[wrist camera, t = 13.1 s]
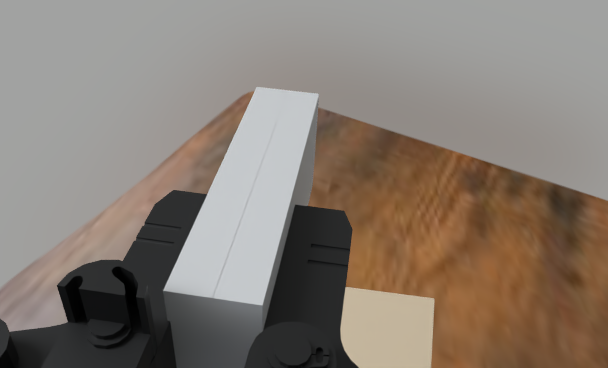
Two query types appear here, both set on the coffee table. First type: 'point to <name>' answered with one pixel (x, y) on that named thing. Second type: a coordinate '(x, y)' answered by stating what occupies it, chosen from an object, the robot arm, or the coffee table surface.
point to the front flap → (387, 329)
